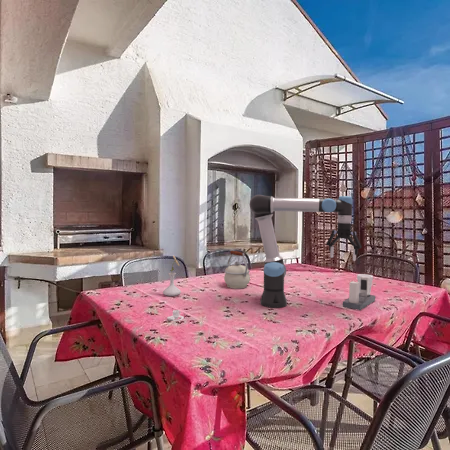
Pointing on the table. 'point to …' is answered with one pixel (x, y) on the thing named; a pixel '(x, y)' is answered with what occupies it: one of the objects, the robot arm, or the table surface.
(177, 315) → the teacup and saucer
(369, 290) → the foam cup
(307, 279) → the table surface
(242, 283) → the kettle
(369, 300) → the grey and white block
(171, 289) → the flower in vase
